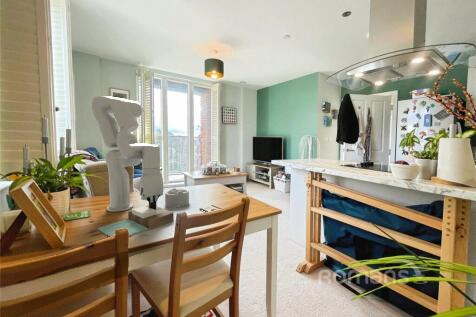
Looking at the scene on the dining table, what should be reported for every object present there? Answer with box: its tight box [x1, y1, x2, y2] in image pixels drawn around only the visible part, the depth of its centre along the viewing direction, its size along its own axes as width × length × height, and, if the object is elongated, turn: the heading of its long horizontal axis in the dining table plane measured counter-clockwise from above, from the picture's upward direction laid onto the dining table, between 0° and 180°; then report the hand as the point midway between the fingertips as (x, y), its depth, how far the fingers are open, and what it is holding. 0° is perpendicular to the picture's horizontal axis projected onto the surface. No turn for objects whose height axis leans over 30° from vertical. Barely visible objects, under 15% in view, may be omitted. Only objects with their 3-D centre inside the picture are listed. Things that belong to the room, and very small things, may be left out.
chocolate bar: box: [199, 204, 222, 213], centre depth 114 cm, size 9×1×18 cm
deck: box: [127, 204, 175, 230], centre depth 101 cm, size 18×12×4 cm, turn 54°
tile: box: [131, 205, 156, 218], centre depth 98 cm, size 9×6×2 cm, turn 55°
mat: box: [97, 218, 149, 237], centre depth 91 cm, size 16×13×1 cm
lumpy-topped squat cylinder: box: [164, 187, 190, 208], centre depth 125 cm, size 10×13×9 cm
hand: (152, 209), depth 102 cm, fingers closed
